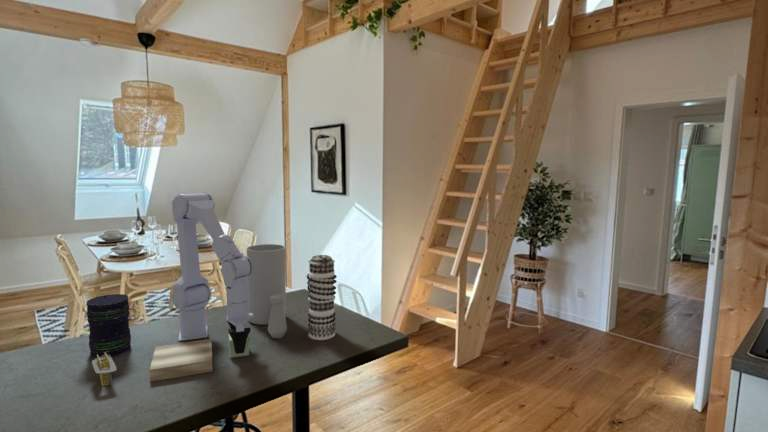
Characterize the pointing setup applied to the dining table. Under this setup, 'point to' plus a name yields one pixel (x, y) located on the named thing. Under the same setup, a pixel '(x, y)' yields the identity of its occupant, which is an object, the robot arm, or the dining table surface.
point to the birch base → (181, 360)
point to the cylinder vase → (265, 280)
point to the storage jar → (109, 325)
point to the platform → (104, 368)
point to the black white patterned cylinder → (321, 297)
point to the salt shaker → (277, 317)
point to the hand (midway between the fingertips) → (238, 347)
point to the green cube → (232, 350)
